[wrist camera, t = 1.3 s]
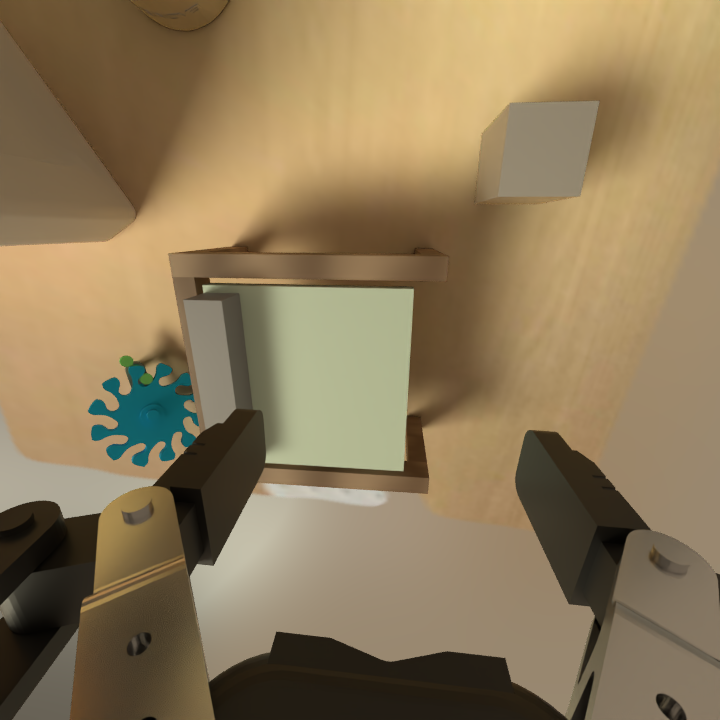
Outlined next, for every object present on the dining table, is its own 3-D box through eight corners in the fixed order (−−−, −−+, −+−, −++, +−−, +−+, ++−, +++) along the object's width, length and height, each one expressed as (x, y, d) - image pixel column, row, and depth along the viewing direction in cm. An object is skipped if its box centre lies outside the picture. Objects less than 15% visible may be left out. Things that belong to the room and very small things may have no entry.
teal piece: (221, 441, 37) (110, 487, 32) (207, 431, 42) (109, 470, 36) (188, 340, 35) (64, 371, 30) (177, 341, 40) (68, 368, 34)
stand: (251, 421, 38) (208, 479, 29) (231, 246, 32) (168, 253, 23) (419, 429, 37) (427, 493, 28) (432, 248, 30) (449, 256, 21)
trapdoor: (234, 453, 29) (213, 482, 26) (209, 282, 24) (180, 291, 21) (403, 463, 28) (404, 494, 25) (413, 286, 23) (416, 296, 20)
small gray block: (481, 133, 27) (510, 102, 21) (548, 132, 27) (599, 100, 20) (474, 204, 29) (497, 196, 22) (537, 204, 28) (580, 196, 22)
